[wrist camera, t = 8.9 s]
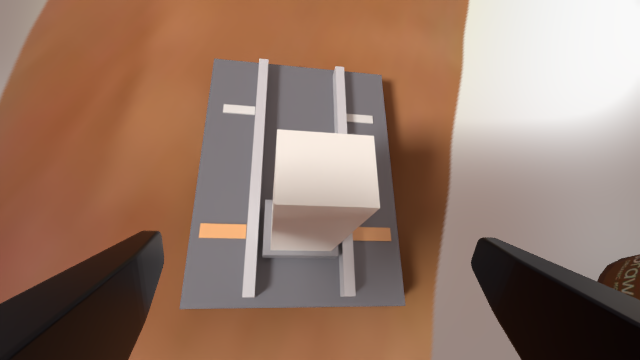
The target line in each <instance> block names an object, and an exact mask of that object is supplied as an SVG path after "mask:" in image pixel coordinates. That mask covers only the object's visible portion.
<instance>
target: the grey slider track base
mask: <svg viewBox="0 0 640 360" xmlns="http://www.w3.org/2000/svg"><path fill="white" fill-rule="evenodd" d="M277 129H281V130H295V131H310V132H325V133H339V134H354V135H368V136H374V143H375V154H376V166H377V177H378V189H379V200H380V209H378V210H377V211H376V212H375V213H374V214H373V215H372V216H370V217H369V218H368V219H367V220H366V221H365V222H364V223H362V224H361V225H360V226H359V227H358V228H357V229H356V230H354V231H353V232H352V233H351V234H350V235H349V236H348V237H346V238H345V239H344V240H343V241H342V242H341V243H340V244H338V255H339V256H338V257H336V258H335V259H330V258H263V257H262V253H263V234H264V215H265V200H273V188H274V172H275V156H276V140H277ZM356 306H405V297H404V288H403V278H402V268H401V259H400V249H399V240H398V230H397V221H396V211H395V201H394V192H393V182H392V173H391V163H390V154H389V144H388V134H387V125H386V115H385V106H384V96H383V87H382V77H381V75H375V74H365V73H355V72H345V71H344V67H338V66H335V70H324V69H314V68H304V67H294V66H284V65H274V64H268V59H259V63H253V62H243V61H233V60H223V59H214V65H213V72H212V79H211V86H210V93H209V101H208V108H207V115H206V122H205V129H204V137H203V144H202V151H201V158H200V166H199V173H198V180H197V187H196V194H195V202H194V209H193V216H192V223H191V231H190V238H189V245H188V252H187V259H186V267H185V274H184V281H183V288H182V295H181V303H180V309H216V308H286V307H356Z"/></svg>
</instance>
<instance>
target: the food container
mask: <svg viewBox="0 0 640 360" xmlns="http://www.w3.org/2000/svg"><path fill="white" fill-rule="evenodd" d="M597 282H599V283H601V284H603V285H606V286H608V287H610V288H613V289H615V290H617V291H620V292H622V293H624V294H627V295H629V296H631V297H634V298H636V299H638V300H639V301H640V255H635V256H631V257H627V258H622V259H620V260H618V261H616V262H614V263H612V264H609V265H608V266H607V267H606V268H605V269H604V271H603V272H602V273H601V274H600V276H599V279H598V281H597Z"/></svg>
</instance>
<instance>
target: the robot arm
mask: <svg viewBox="0 0 640 360" xmlns="http://www.w3.org/2000/svg"><path fill="white" fill-rule="evenodd" d="M163 264H164V253H163V244H162V236H161V233H160V232H159V231H141V232H139V233H137V234H135V235H133V236H131V237H129V238H128V239H126V240H124V241H122V242H120V243H118V244H116V245H114V246H112V247H110V248H108V249H106V250H104V251H102V252H100V253H98V254H96V255H94V256H92V257H90V258H88V259H87V260H85V261H83V262H81V263H79V264H77V265H75V266H73V267H71V268H69V269H67V270H65V271H63V272H61V273H59V274H57V275H55V276H53V277H51V278H49V279H48V280H46V281H44V282H42V283H40V284H38V285H36V286H34V287H32V288H30V289H28V290H26V291H24V292H22V293H20V294H18V295H16V296H14V297H12V298H10V299H8V300H7V301H5V302H3V303H1V304H0V360H128V359H129V357H130V354H131V352H132V350H133V348H134V346H135V343H136V341H137V339H138V337H139V335H140V332H141V330H142V328H143V325H144V323H145V321H146V318H147V315H148V312H149V309H150V306H151V303H152V300H153V296H154V293H155V290H156V287H157V284H158V281H159V278H160V274H161V271H162V268H163ZM471 266H472V269H473V271H474V273H475V276H476V278H477V280H478V282H479V284H480V286H481V288H482V290H483V292H484V294H485V296H486V298H487V300H488V303H489V305H490V307H491V308H492V311H493V312H494V314H495V316H496V318H497V320H498V322H499V323H500V325H501V327H502V328H503V330H504V331H505V333H506V334H507V336H508V338H509V340H510V341H511V343H512V345H513V347H514V348H515V350H516V351H517V353H518V355H519V356H520V358H521V360H640V301H639V300H638V299H636V298H634V297H631V296H629V295H627V294H624V293H622V292H620V291H617V290H615V289H613V288H610V287H608V286H606V285H603V284H601V283H599V282H596V281H594V280H592V279H589V278H587V277H585V276H582V275H580V274H577V273H575V272H573V271H571V270H568V269H566V268H563V267H561V266H559V265H557V264H554V263H552V262H550V261H547V260H545V259H543V258H540V257H538V256H536V255H534V254H531V253H529V252H527V251H524V250H522V249H520V248H517V247H515V246H513V245H510V244H508V243H506V242H503V241H501V240H498V239H496V238H481V239H479V240H478V242H477V245H476V248H475V251H474V254H473V257H472V260H471Z"/></svg>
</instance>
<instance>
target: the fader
mask: <svg viewBox="0 0 640 360" xmlns="http://www.w3.org/2000/svg"><path fill="white" fill-rule="evenodd" d="M378 209H380V200H379V189H378V177H377V166H376V154H375V143H374V136H368V135H354V134H339V133H325V132H310V131H295V130H281V129H277V140H276V156H275V172H274V188H273V200H265V215H264V234H263V253H262V257H263V258H330V259H335V258H336V257H338V256H339V255H338V244H340V243H341V242H342V241H343V240H344V239H345V238H346V237H348V236H349V235H350V234H351V233H352V232H353V231H354V230H356V229H357V228H358V227H359V226H360V225H361V224H362V223H364V222H365V221H366V220H367V219H368V218H369V217H370V216H372V215H373V214H374V213H375V212H376V211H377V210H378Z"/></svg>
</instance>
